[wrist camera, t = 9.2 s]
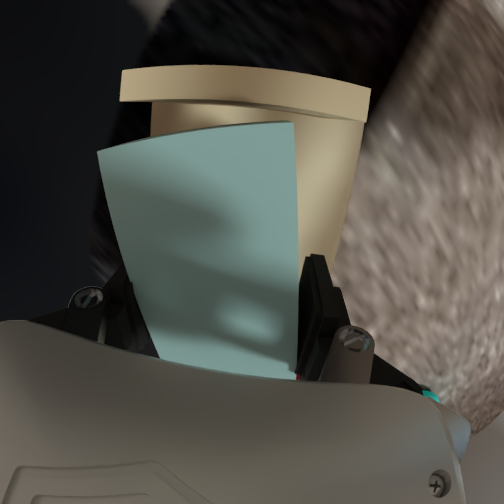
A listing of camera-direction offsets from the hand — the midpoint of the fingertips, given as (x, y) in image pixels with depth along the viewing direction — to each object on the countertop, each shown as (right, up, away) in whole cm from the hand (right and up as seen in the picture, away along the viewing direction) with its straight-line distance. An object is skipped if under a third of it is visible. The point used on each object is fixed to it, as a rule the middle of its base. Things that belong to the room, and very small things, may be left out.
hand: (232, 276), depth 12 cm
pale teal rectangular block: (0, 0, +1) cm, 1 cm away
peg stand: (0, +3, +6) cm, 7 cm away
